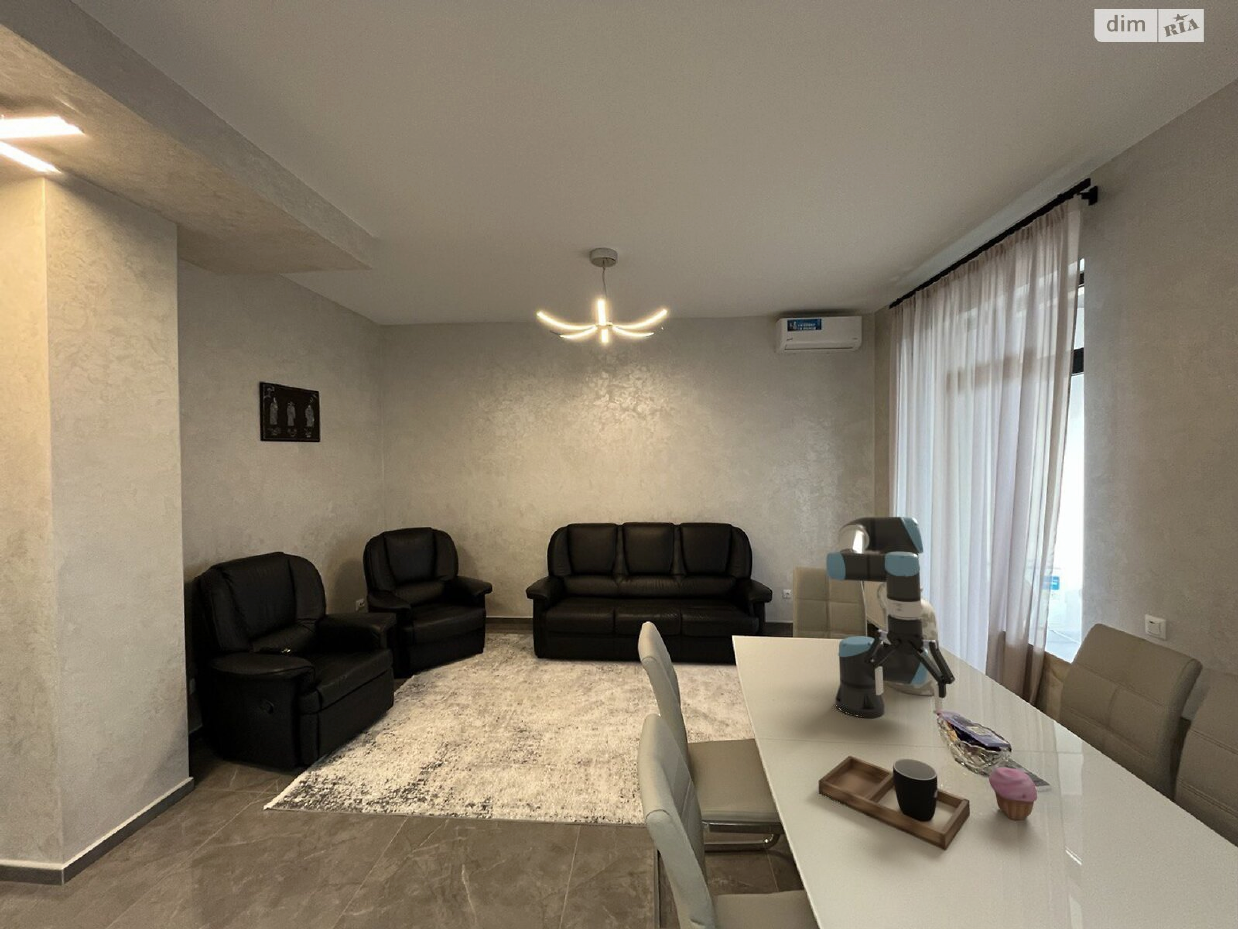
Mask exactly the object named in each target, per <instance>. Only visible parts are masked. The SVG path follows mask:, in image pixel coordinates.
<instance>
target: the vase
mask: <svg viewBox="0 0 1238 929" xmlns="http://www.w3.org/2000/svg"><path fill="white" fill-rule="evenodd" d="M884 588H885V582H881V583H880V584H879V585H878V586H877V590H876V598H877V600H878V601H877V602H878V604H879V606H880V609H881V611H882V616H883V619H882V620H883V622H884V624H883V625H884V631H885V632H887V611H886V602H885V601H884V598H883V594H882V593H883V592H882V591H883V589H884ZM923 591H924V588H923V586H921V585H920V596H921V612H922V615H921V616H920V618H921V619H922V636H923V638H924V640H933V639H936V640H937V641H938V647H939V650H940V640H939V633H938V632H939V631H938V625H937V624H938V623H937V616H936V612H935V609H934V608H933V606H932V605H931V603H930V602H929V601H927V600H926V599H925V598H923V597H922V592H923ZM923 648H926V649H927V650H928V657H929V658H930V659H931V661H932V662H933V663H934V664H935V666H936V667H937V668H938V666H937V664H936V662H935V660H934V658H933V656H932V655H931V652H930V650H929V649H928V648H927V646H926V645H923ZM940 651H941V650H940ZM938 669H939V668H938ZM940 672H941V671H940ZM885 682H886V684H887V685H888V684H889V685H890V686H891V687H890V686H889V685H888V686H889V687H890V688H892V689H893V688H895V689H894V690H896V689H897V690H896V691H898V690H899V692H901V691H902V693H904V694H910V695H915V696H933V695H934V696H935V694H934V683H936V682H937V681H936V680H935V679H934V678H933V676H932V675H931V674H930V673H929V671H928V672H927V678H926V682H925V683H924V684H922V685H913V684H911V685H908V684H904V683H897V682H889V681H885Z"/></svg>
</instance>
